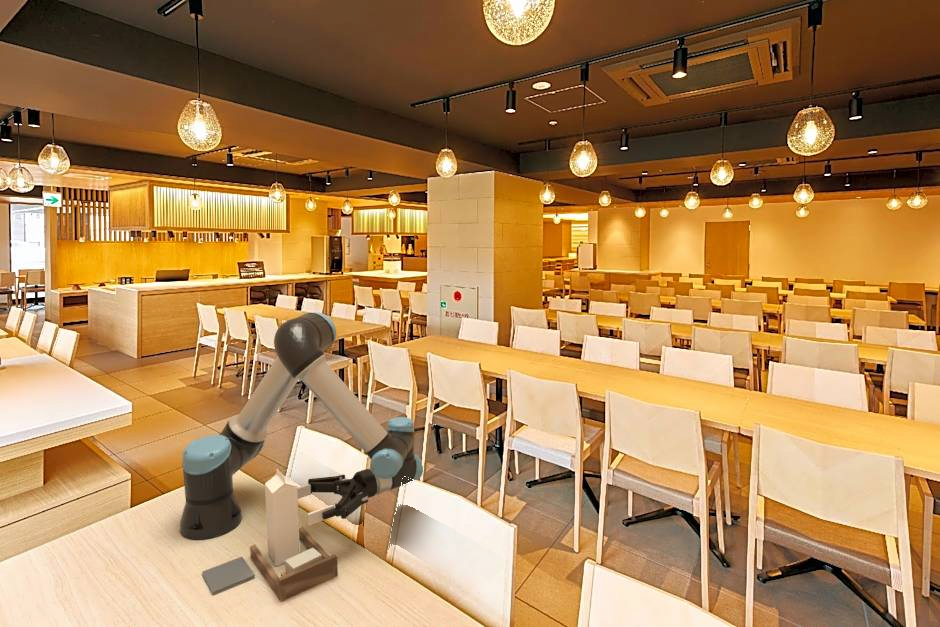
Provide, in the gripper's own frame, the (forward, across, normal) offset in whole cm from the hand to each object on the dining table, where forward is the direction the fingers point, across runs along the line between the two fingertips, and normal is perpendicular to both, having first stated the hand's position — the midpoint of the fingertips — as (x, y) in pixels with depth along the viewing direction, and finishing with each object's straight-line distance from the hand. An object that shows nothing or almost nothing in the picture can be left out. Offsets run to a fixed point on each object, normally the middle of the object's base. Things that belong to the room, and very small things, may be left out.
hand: (296, 507), depth 127 cm
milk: (+3, +1, -12) cm, 13 cm away
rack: (+3, -5, -12) cm, 13 cm away
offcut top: (+3, -11, -9) cm, 15 cm away
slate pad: (+16, +1, -12) cm, 20 cm away
